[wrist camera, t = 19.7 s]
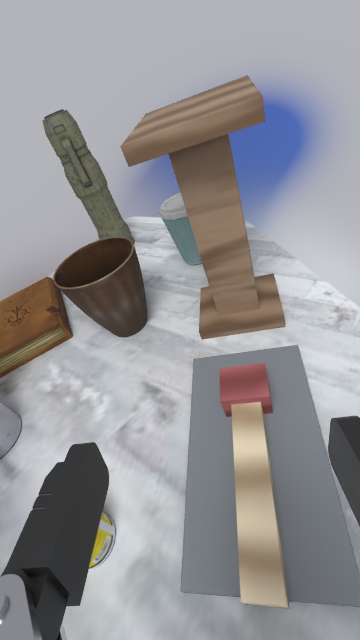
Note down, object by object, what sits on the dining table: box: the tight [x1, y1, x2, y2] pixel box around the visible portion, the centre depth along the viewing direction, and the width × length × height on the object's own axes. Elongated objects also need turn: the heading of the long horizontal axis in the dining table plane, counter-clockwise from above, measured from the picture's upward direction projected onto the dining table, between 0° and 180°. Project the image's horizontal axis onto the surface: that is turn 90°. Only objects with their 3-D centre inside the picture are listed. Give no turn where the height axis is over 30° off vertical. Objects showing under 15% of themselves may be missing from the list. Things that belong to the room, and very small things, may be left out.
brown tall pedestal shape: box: [121, 76, 285, 339], centre depth 44 cm, size 16×14×32 cm
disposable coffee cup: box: [159, 192, 202, 265], centre depth 67 cm, size 11×11×15 cm
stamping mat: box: [181, 345, 360, 607], centre depth 37 cm, size 28×16×1 cm, turn 176°
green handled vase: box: [43, 109, 134, 244], centre depth 78 cm, size 9×12×35 cm
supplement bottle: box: [89, 512, 115, 569], centre depth 32 cm, size 5×5×10 cm
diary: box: [0, 277, 72, 377], centre depth 71 cm, size 23×19×6 cm
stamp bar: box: [219, 363, 289, 608], centre depth 33 cm, size 23×6×4 cm, turn 176°
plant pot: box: [53, 237, 147, 337], centre depth 56 cm, size 15×15×16 cm
